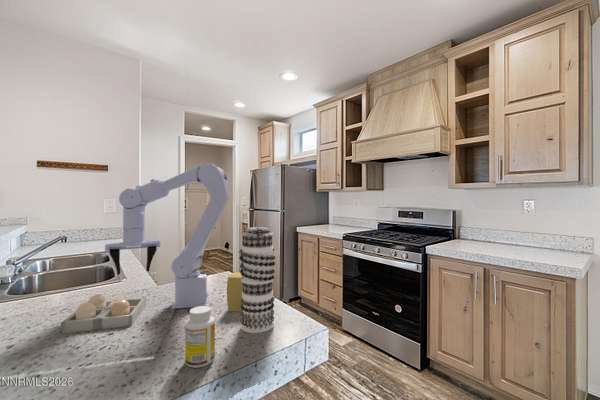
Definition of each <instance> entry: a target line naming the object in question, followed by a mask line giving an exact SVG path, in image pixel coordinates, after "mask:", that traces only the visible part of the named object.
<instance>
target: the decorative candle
mask: <svg viewBox="0 0 600 400" xmlns="http://www.w3.org/2000/svg"><path fill="white" fill-rule="evenodd" d="M241 234H242V245H241V249H240V250H239V254H240V256H239V260H240V262H241V263H240V265H239V267H240V271H239V272H240V273H241V275H242V277H241V281H242V282H243V291H242V298H241V303H242V305H241V309H242V311H240V314H239V315H240V317H241V318H240V323H241V324H240V328H241V330H242V331H243V332H244V331H245V332H246V333H251V334H260V333H265V332H268V331H270V330H271V329H273V327H274V326H275V325H274V324H275V322H274V321H275V320H274V319H275V316H274V315H275V310H274V306H275V303H274V301H275V297H274V289H273V281H275V276H274V275H273V274H275V272H276V271H275V269H273V267H274V266H276V262H275V261H274V260H275V259H276V256H275V255H273V252H274V251H275V248H274V244H273V235H275V234H274V233H273V232H272V231H271V229H270V228H269V227H265V226H263V227H262V226H253V227H252V226H251V227H247V228H246V229H245V231H244V233H241Z"/></svg>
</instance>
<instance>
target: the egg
mask: <svg viewBox="0 0 600 400" xmlns="http://www.w3.org/2000/svg"><path fill="white" fill-rule="evenodd" d="M116 300H117V299H116ZM129 314H130V304H129V302H128V301H127V300H125V299H122V298H120V299H118V300H117V301H116V302H115V303H114V304H113V305H112V308H111V316H122V315H129Z"/></svg>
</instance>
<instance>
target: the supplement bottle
mask: <svg viewBox="0 0 600 400" xmlns="http://www.w3.org/2000/svg"><path fill="white" fill-rule="evenodd" d="M211 314H212V312H211V307H210V306H207V305H205V306H198V307H191V308H190V310H189V315H188V317H189V318H188V319H187V320H186V321H185V323H184V330H185V331H184V341H185V342H184V349H185V350H184V353H185V355H184V361H185V365H186V366H188V367H189V368H194V369H197V368H203V367H206V366H208V365H210V364H211V363H212V362H213V361H214V359H215V356H216V354H215V353H216V351H215V350H216V344H215V343H216V341H215V340H216V336H215V335H216V333H215V329H216V328H215V326H216V325H215V324H216V322H215V321H216V320H215V317H214V316H212V315H211Z"/></svg>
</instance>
